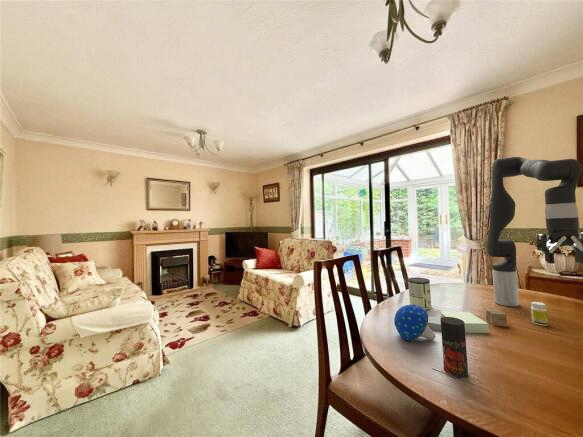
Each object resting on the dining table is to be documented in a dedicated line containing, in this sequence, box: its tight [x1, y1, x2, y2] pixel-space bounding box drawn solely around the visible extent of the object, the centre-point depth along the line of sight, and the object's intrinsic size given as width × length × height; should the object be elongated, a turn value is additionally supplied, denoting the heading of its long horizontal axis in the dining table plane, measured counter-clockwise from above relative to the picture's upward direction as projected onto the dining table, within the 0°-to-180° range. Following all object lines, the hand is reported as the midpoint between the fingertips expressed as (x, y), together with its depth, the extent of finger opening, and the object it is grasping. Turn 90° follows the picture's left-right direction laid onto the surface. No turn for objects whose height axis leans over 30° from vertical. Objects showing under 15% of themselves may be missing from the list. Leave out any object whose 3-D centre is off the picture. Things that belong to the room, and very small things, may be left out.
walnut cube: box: [485, 308, 508, 327], centre depth 99 cm, size 5×5×5 cm
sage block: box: [439, 311, 489, 334], centre depth 98 cm, size 12×12×4 cm
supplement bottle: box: [530, 301, 549, 327], centre depth 96 cm, size 5×5×8 cm
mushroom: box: [393, 304, 437, 342], centre depth 89 cm, size 14×14×15 cm
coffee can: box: [407, 276, 433, 311], centre depth 122 cm, size 10×10×14 cm
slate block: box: [427, 315, 441, 332], centre depth 98 cm, size 7×7×3 cm
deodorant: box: [440, 317, 469, 379], centre depth 69 cm, size 6×6×15 cm
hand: (565, 263), depth 81 cm, fingers open, 8 cm apart
